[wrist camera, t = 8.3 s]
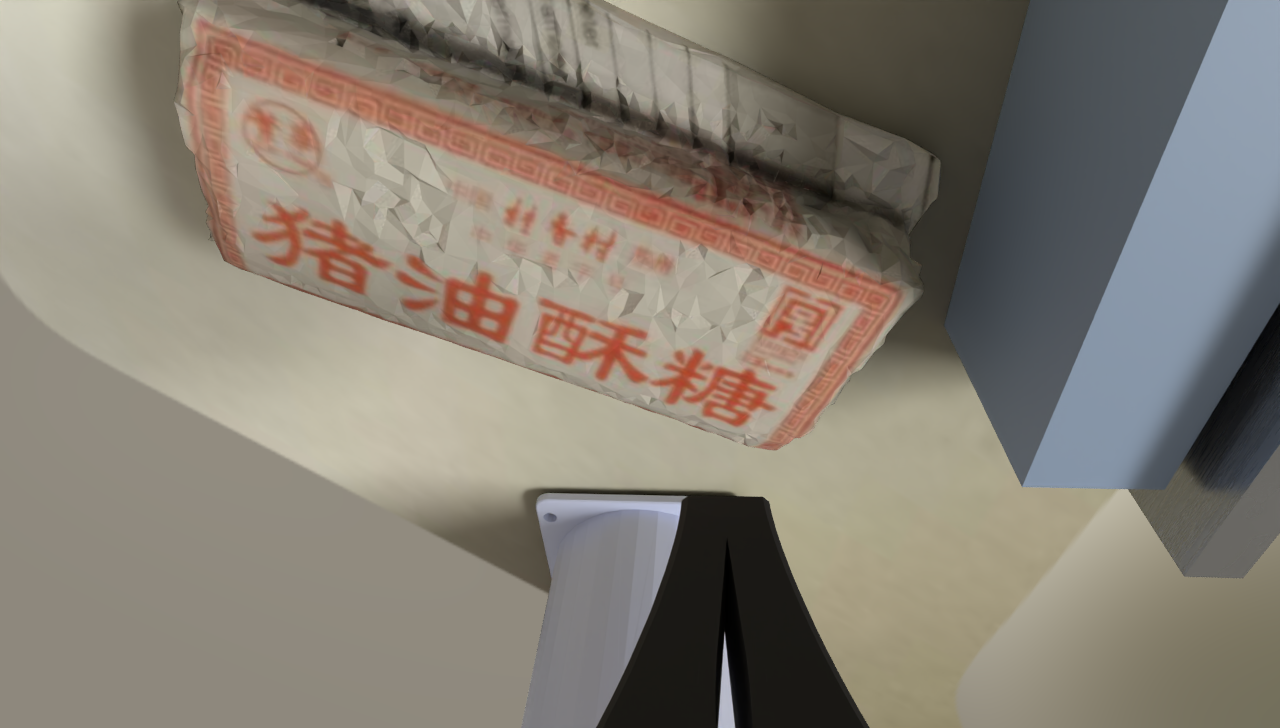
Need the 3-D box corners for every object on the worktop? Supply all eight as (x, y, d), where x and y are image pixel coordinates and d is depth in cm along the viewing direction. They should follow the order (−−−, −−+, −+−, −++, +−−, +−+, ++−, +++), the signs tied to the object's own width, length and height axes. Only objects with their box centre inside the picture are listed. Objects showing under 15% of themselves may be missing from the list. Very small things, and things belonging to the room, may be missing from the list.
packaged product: (1014, 230, 14) (778, 518, 20) (948, 143, 17) (767, 407, 23) (52, -175, 11) (119, 309, 17) (223, -175, 15) (228, 220, 21)
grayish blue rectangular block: (1048, 323, 20) (1165, 489, 15) (943, 323, 20) (1022, 486, 15) (1247, -205, 13) (1606, -231, 8) (1078, -194, 13) (1318, -212, 8)
